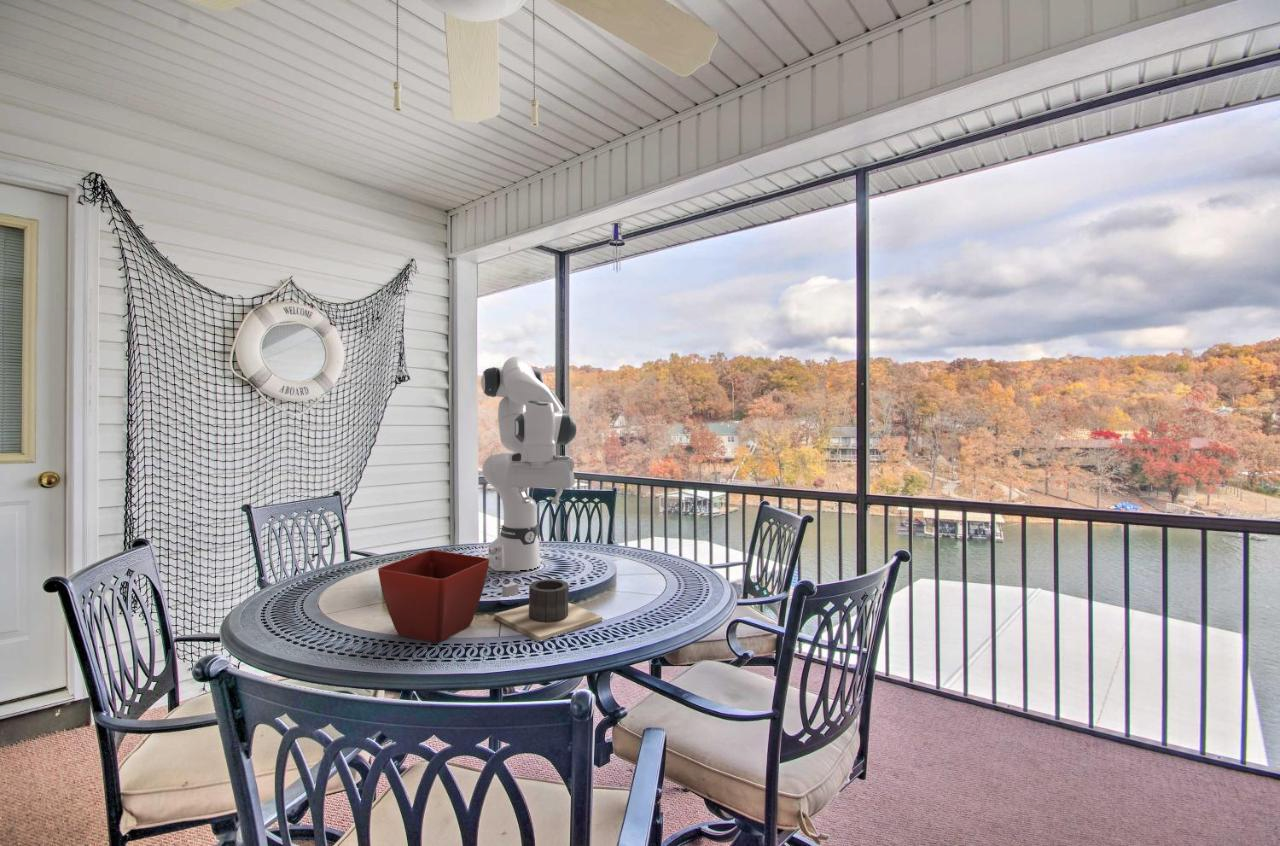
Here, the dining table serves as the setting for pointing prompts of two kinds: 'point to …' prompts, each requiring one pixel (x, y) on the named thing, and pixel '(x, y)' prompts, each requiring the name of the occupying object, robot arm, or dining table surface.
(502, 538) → the robot arm
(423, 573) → the plant pot
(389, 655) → the dining table surface
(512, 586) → the white short cylinder
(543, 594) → the stand
